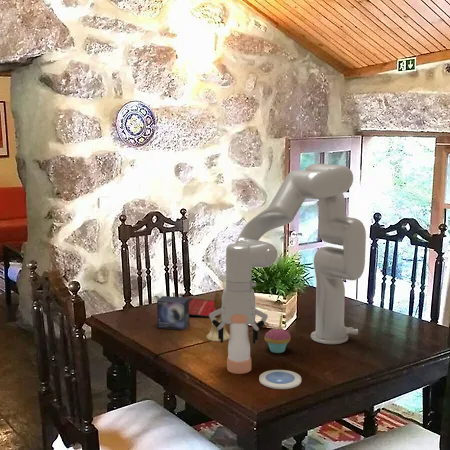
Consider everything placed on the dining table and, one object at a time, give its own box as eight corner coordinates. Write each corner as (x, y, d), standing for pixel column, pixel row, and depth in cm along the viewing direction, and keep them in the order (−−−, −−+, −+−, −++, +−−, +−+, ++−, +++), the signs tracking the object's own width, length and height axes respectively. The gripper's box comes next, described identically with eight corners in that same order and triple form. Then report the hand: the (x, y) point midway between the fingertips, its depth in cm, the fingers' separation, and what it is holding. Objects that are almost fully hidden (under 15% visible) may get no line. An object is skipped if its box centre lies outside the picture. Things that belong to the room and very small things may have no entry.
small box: (156, 328, 228) (155, 300, 226) (162, 322, 234) (161, 295, 233) (184, 330, 226) (184, 302, 224) (190, 324, 232) (189, 297, 230)
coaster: (299, 372, 187) (299, 369, 187) (302, 389, 176) (302, 386, 175) (259, 372, 188) (259, 369, 188) (259, 388, 176) (259, 385, 176)
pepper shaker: (231, 375, 186) (230, 312, 183) (224, 366, 193) (223, 305, 190) (254, 372, 188) (254, 309, 185) (246, 363, 195) (246, 303, 192)
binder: (175, 312, 241) (185, 297, 261) (175, 318, 241) (185, 302, 262) (216, 315, 239) (224, 300, 259) (216, 321, 239) (224, 305, 260)
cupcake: (274, 344, 211) (274, 309, 209) (295, 349, 206) (296, 314, 204) (259, 351, 205) (259, 315, 203) (281, 357, 200) (281, 320, 198)
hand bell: (227, 342, 214) (227, 296, 211) (203, 340, 215) (203, 295, 213) (232, 334, 222) (232, 289, 219) (209, 332, 223) (208, 288, 221)
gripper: (267, 283, 189) (266, 338, 192) (210, 282, 190) (209, 337, 193) (268, 289, 182) (267, 346, 185) (208, 288, 183) (208, 345, 185)
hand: (238, 341), depth 189 cm, fingers open, 9 cm apart
